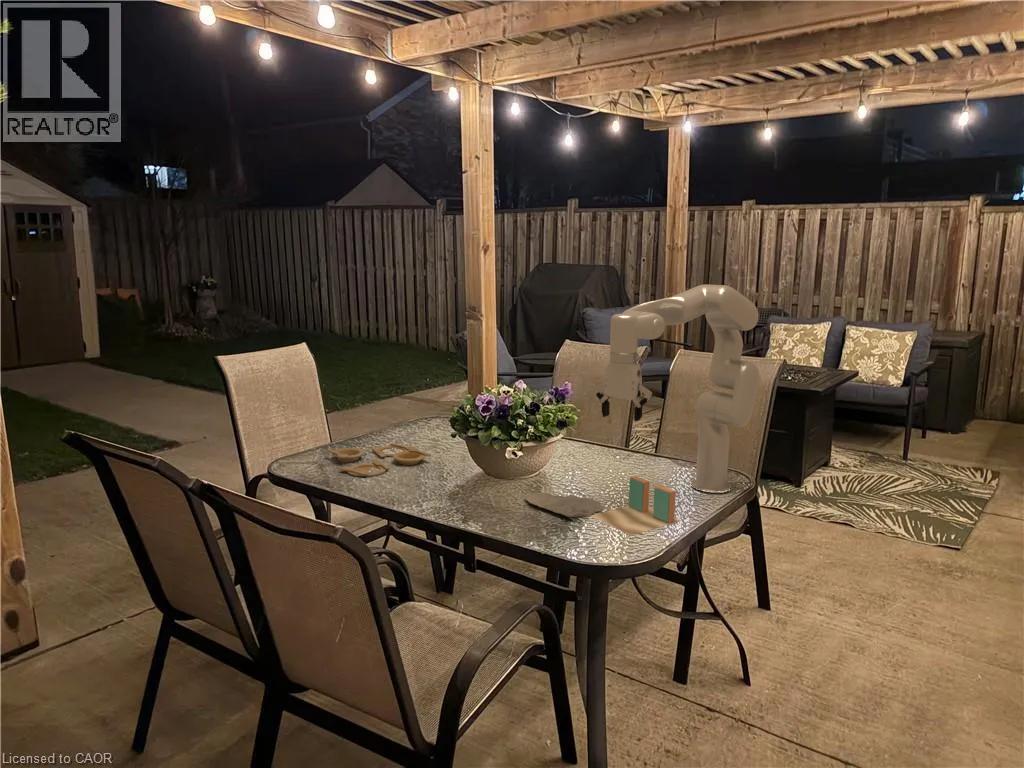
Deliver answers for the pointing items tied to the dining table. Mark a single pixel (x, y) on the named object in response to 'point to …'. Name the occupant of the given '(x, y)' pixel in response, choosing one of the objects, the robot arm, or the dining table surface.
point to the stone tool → (566, 504)
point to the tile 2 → (664, 504)
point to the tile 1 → (639, 494)
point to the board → (631, 520)
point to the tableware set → (352, 454)
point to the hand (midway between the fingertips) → (621, 418)
